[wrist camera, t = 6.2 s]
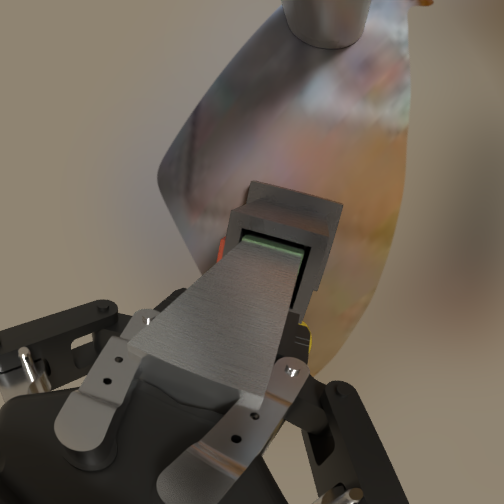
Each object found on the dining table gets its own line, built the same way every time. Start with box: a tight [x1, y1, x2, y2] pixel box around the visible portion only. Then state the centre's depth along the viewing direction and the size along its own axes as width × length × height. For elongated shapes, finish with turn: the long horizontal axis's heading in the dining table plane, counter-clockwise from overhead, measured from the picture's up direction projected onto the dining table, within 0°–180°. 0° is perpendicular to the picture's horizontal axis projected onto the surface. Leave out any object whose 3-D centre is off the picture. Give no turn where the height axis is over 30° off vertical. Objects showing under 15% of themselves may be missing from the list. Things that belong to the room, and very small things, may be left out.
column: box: [127, 231, 304, 415], centre depth 16 cm, size 4×4×19 cm
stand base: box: [217, 181, 343, 324], centre depth 25 cm, size 10×10×12 cm
